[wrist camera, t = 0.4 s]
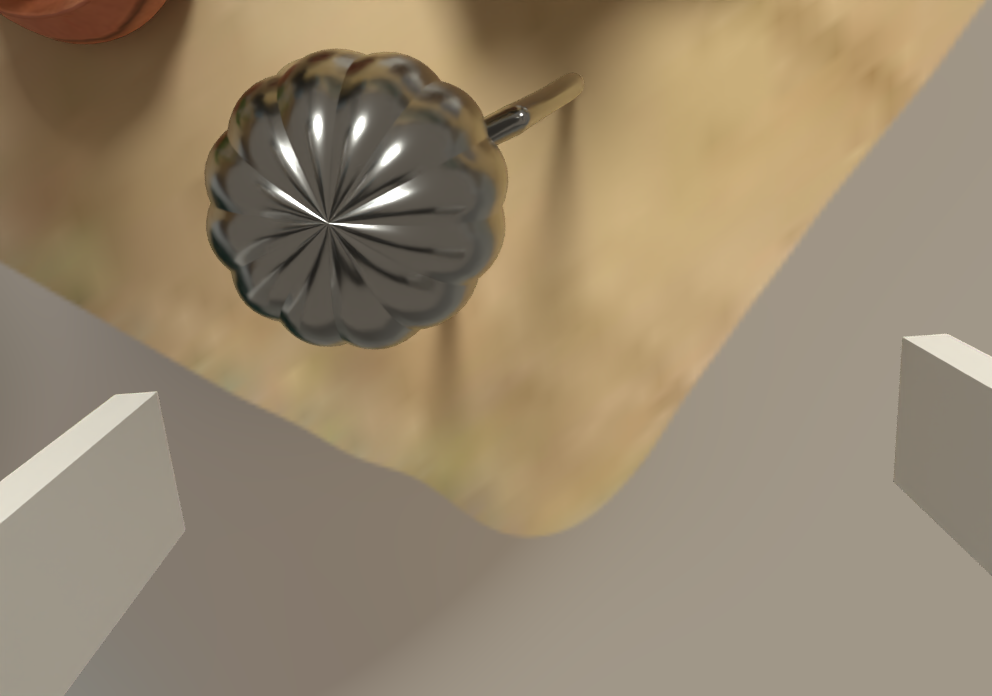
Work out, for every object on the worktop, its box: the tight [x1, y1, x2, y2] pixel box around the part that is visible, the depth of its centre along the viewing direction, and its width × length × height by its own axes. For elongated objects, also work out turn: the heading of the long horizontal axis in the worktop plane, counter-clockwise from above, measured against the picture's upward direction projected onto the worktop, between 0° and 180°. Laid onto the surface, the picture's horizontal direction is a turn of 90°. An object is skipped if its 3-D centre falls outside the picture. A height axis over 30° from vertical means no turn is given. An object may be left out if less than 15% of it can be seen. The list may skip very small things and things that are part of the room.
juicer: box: [205, 49, 584, 349], centre depth 26 cm, size 10×11×30 cm
